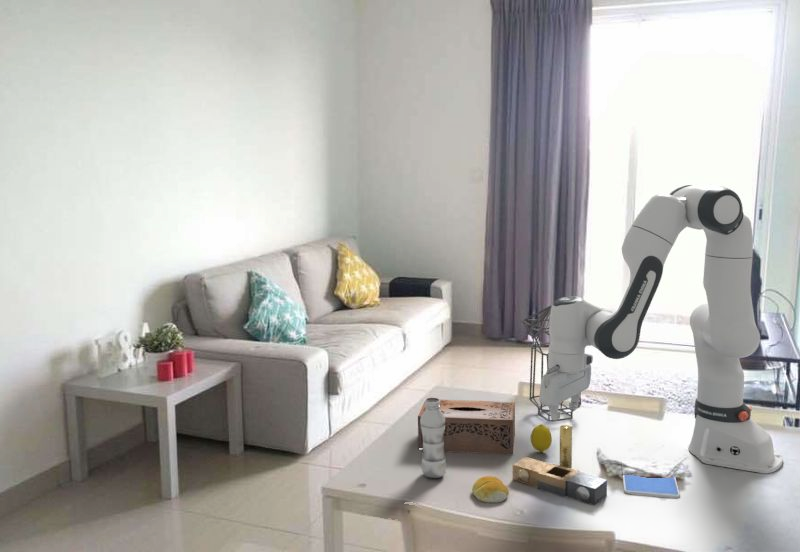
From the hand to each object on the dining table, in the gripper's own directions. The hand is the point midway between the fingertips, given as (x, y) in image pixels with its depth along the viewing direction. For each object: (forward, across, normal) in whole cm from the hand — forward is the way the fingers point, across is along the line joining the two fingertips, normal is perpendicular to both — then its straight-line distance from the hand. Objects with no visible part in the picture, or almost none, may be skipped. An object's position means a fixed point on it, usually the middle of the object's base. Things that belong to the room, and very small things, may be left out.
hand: (564, 414), depth 185 cm
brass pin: (+14, 0, 0) cm, 15 cm away
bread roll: (+15, -24, +6) cm, 29 cm away
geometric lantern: (+15, +32, +20) cm, 40 cm away
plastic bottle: (+15, -24, +24) cm, 37 cm away
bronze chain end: (+15, -11, -1) cm, 18 cm away
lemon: (+15, +6, +10) cm, 18 cm away
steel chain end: (+15, -10, -8) cm, 20 cm away
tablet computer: (+15, +8, -20) cm, 26 cm away
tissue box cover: (+15, 0, +30) cm, 33 cm away
